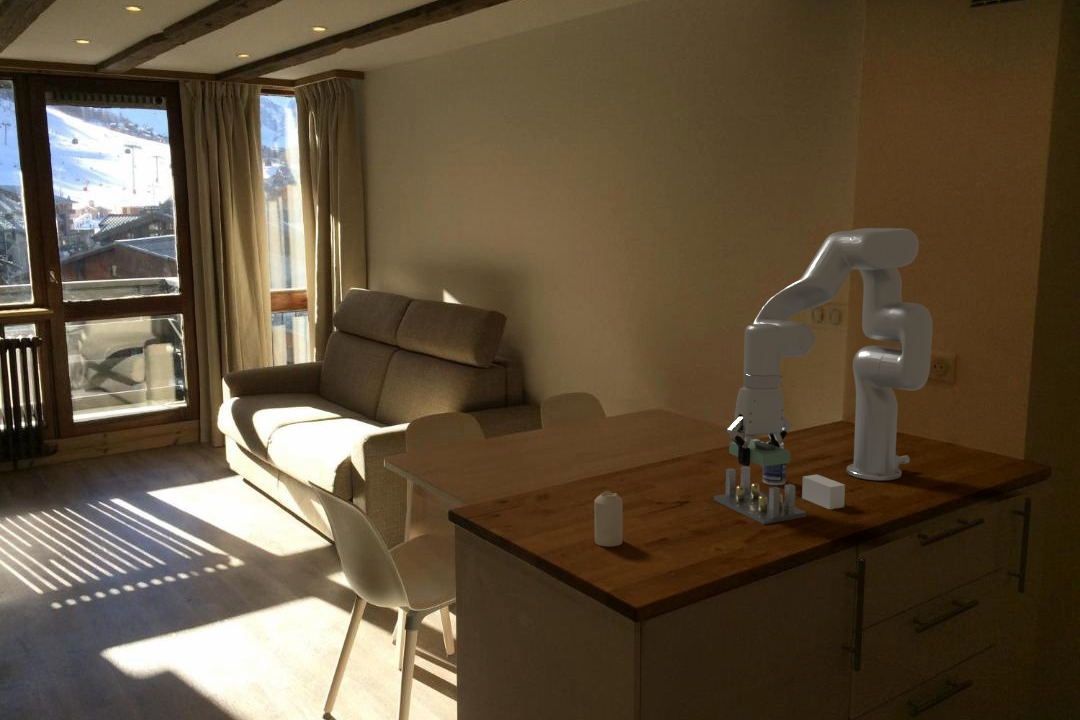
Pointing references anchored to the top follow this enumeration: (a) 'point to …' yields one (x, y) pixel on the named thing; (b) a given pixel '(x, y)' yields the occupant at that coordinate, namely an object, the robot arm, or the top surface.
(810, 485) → the block
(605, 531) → the candle
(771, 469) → the pill bottle
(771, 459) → the board
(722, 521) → the top surface
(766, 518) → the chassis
